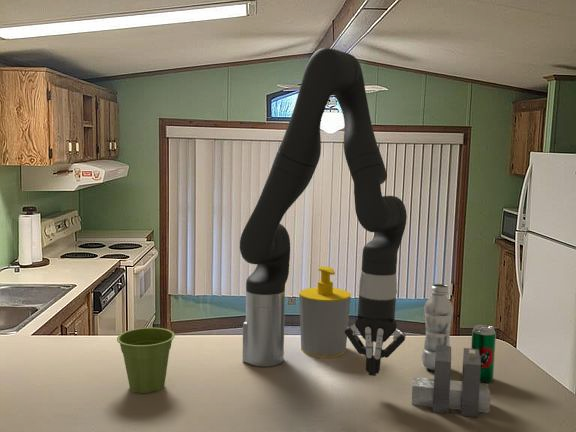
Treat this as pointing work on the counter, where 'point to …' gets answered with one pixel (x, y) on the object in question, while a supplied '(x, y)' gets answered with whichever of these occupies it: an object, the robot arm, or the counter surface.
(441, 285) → the plastic bottle
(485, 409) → the pale grey rectangular bar
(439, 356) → the collar
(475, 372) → the collar
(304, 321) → the soap bottle
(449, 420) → the counter surface
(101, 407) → the counter surface
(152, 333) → the plant pot
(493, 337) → the soda can
